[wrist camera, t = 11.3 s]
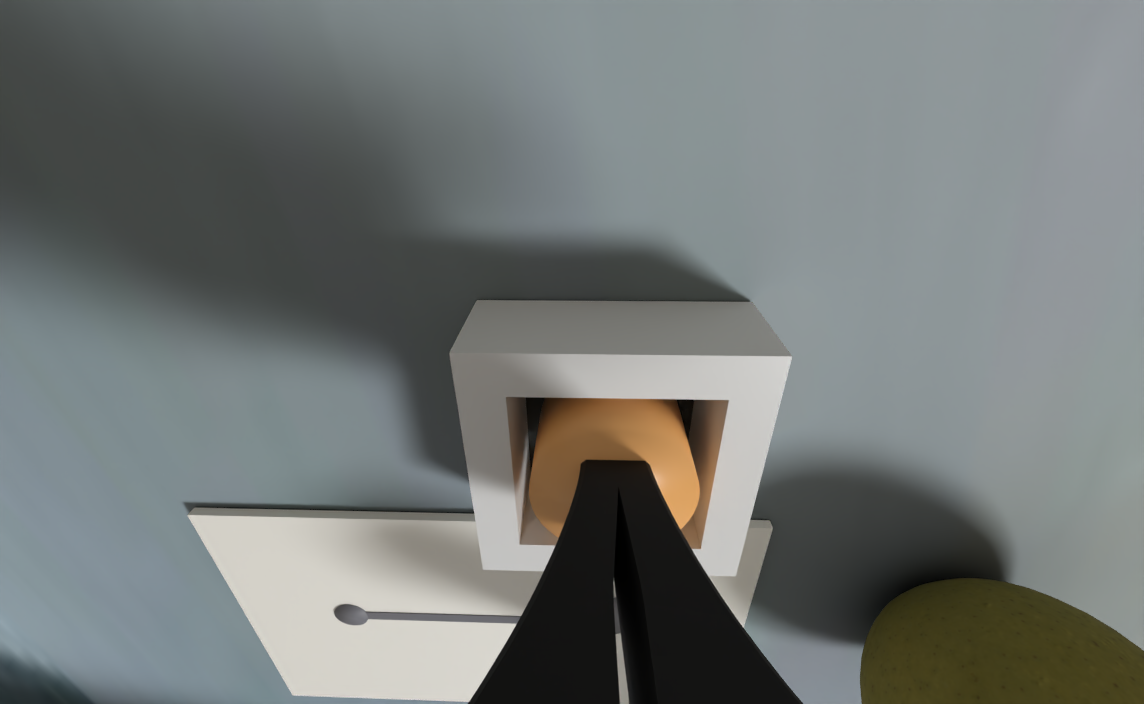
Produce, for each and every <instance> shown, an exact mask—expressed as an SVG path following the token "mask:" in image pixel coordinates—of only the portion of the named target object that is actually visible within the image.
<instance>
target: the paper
mask: <svg viewBox="0 0 1144 704" xmlns="http://www.w3.org/2000/svg"><path fill="white" fill-rule="evenodd" d="M188 517H189V519H190V520H191V522H192V524H193V526H194V527H195V529H196V531H197V532H198V534H199V536H200V537H201V539H202V541H203V543H204V544H205V546H206V548H207V549H208V551H209V553H210V555H211V556H212V558H213V560H214V561H215V563H216V565H217V567H218V568H219V570H220V572H221V573H222V575H223V577H224V579H225V580H226V582H227V584H228V585H229V587H230V589H231V591H232V592H233V594H234V596H235V597H236V599H237V601H238V603H239V604H240V606H241V608H242V609H243V611H244V613H245V614H246V616H247V618H248V620H249V621H250V623H251V625H252V626H253V628H254V630H255V632H256V633H257V635H258V637H259V638H260V640H261V642H262V644H263V645H264V647H265V649H266V650H267V652H268V654H269V656H270V657H271V659H272V661H273V662H274V664H275V666H276V668H277V669H278V671H279V673H280V674H281V676H282V678H283V680H284V681H285V683H286V685H287V686H288V688H289V690H290V691H291V693H292V695H295V696H322V697H350V698H378V699H406V700H434V701H462V702H469V701H470V700H471V698H472V697H473V695H474V694H475V692H476V690H477V689H478V687H479V686H480V684H481V683H482V681H483V680H484V678H485V676H486V675H487V673H488V671H489V670H490V668H491V667H492V665H493V663H494V662H495V660H496V658H497V657H498V655H499V653H500V652H501V650H502V648H503V647H504V645H505V644H506V642H507V640H508V638H509V637H510V635H511V633H512V631H513V630H514V628H515V626H516V624H517V622H518V621H519V619H520V617H521V615H522V613H523V612H524V610H525V608H526V606H527V604H528V602H529V600H530V598H531V596H532V594H533V593H534V591H535V589H536V587H537V585H538V582H539V580H540V578H541V576H542V574H543V572H544V571H510V570H483V566H482V560H481V553H480V547H479V540H478V534H477V528H476V521H475V515H474V514H462V513H418V512H373V511H328V510H283V509H238V508H193V510H192V511H191V512H190V513H189V514H188ZM772 530H773V527H772V525H771V522H770V520H750V523H749V527H748V531H747V535H746V539H745V543H744V547H743V550H742V554H741V558H740V562H739V566H738V570H737V574H736V576H708V577H709V578H710V580H711V581H712V583H713V584H714V586H715V587H716V589H717V590H718V592H719V593H720V595H721V596H722V598H723V599H724V601H725V602H726V604H727V605H728V607H729V608H730V610H731V611H732V613H733V614H734V615H735V617H736V618H737V620H738V621H739V622H740V624H741V625H742V627H743V628H744V625H745V622H746V618H747V615H748V611H749V608H750V605H751V601H752V598H753V594H754V591H755V588H756V584H757V581H758V577H759V574H760V571H761V567H762V564H763V560H764V557H765V554H766V550H767V547H768V543H769V540H770V537H771V533H772ZM614 598H616V592H615V584H614Z"/></svg>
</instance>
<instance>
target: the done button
mask: <svg viewBox="0 0 1144 704" xmlns="http://www.w3.org/2000/svg"><path fill="white" fill-rule="evenodd" d="M585 460H642V461H646V462H647V463H648V464H649V465H650V466H651V469H652V472H653V474H654V477H655V479H656V482H657V484H658V486H659V488H660V491H661V493H662V495H663V497H664V499H665V501H666V503H667V505H668V507H669V509H670V511H671V513H672V515H673V517H674V519H675V520H676V522H677V524H678V526H679V528H680V530H681V529H682V528H683V527H684V526H685V525H686V523H687V522H688V521H689V520H690V518H691V517H692V515H693V514H694V512H695V510H696V507H697V505H698V501H699V495H700V486H699V480H698V476H697V473H696V469H695V465H694V461H693V458H692V454H691V450H690V447H689V443H688V439H687V435H686V432H685V428H684V424H683V421H682V417H681V413H680V409H679V406H678V403H677V400H676V399H618V398H545V399H544V402H543V405H542V407H541V412H540V418H539V425H538V431H537V438H536V445H535V451H534V458H533V464H532V471H531V477H530V484H529V498H530V503H531V506H532V509H533V511H534V513H535V515H536V517H537V518H538V520H539V521H540V522H541V524H542V525H543V526H544V527H545V528H546V529H547V530H548V531H550V532H551V533H552V534H554V535H555V536H556V537H558V538H559V536H560V533H561V531H562V528H563V525H564V523H565V520H566V518H567V515H568V512H569V510H570V506H571V503H572V500H573V497H574V494H575V490H576V487H577V483H578V478H579V474H580V466H581V463H582V462H584V461H585Z"/></svg>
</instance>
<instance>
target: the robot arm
mask: <svg viewBox="0 0 1144 704" xmlns="http://www.w3.org/2000/svg"><path fill="white" fill-rule="evenodd" d="M614 584H615V592H616V600H617V608H618V617H619V625H620V633H621V641H622V649H623V657H624V665H625V673H626V681H627V689H628V698H629V704H803V703H802V702H801V701H800V699H799V698H798V697H797V696H796V695H795V694H794V692H793V691H792V690H791V689H790V688H789V686H788V685H787V684H786V683H785V681H784V680H783V679H782V678H781V676H780V675H779V674H778V673H777V671H776V670H775V669H774V667H773V666H772V665H771V664H770V662H769V661H768V660H767V658H766V657H765V656H764V655H763V653H762V652H761V651H760V650H759V648H758V647H757V645H756V644H755V643H754V641H753V640H752V639H751V637H750V636H749V635H748V633H747V632H746V631H745V629H744V628H743V627H742V625H741V624H740V622H739V621H738V620H737V618H736V617H735V615H734V614H733V613H732V611H731V610H730V608H729V607H728V605H727V604H726V602H725V601H724V599H723V598H722V596H721V595H720V593H719V592H718V590H717V589H716V587H715V586H714V584H713V583H712V581H711V580H710V578H709V577H708V575H707V573H706V572H705V570H704V569H703V567H702V565H701V564H700V562H699V561H698V559H697V557H696V556H695V554H694V552H693V550H692V549H691V547H690V545H689V544H688V542H687V540H686V538H685V537H684V535H683V533H682V531H681V530H680V528H679V526H678V524H677V522H676V520H675V519H674V517H673V515H672V513H671V511H670V509H669V507H668V505H667V503H666V501H665V499H664V497H663V495H662V493H661V491H660V488H659V486H658V484H657V482H656V479H655V477H654V474H653V472H652V469H651V466H650V465H649V464H648V463H647V462H646V461H642V460H585V461H584V462H582V463H581V466H580V474H579V478H578V483H577V487H576V490H575V494H574V497H573V500H572V503H571V506H570V510H569V512H568V515H567V518H566V520H565V523H564V525H563V528H562V531H561V533H560V536H559V538H558V541H557V543H556V546H555V548H554V550H553V552H552V555H551V557H550V559H549V561H548V563H547V565H546V567H545V570H544V572H543V574H542V576H541V578H540V580H539V582H538V585H537V587H536V589H535V591H534V593H533V594H532V596H531V598H530V600H529V602H528V604H527V606H526V608H525V610H524V612H523V613H522V615H521V617H520V619H519V621H518V622H517V624H516V626H515V628H514V630H513V631H512V633H511V635H510V637H509V638H508V640H507V642H506V644H505V645H504V647H503V648H502V650H501V652H500V653H499V655H498V657H497V658H496V660H495V662H494V663H493V665H492V667H491V668H490V670H489V671H488V673H487V675H486V676H485V678H484V680H483V681H482V683H481V684H480V686H479V687H478V689H477V690H476V692H475V694H474V695H473V697H472V698H471V700H470V701H469V703H468V704H620V696H619V681H618V665H617V649H616V632H615V615H614Z"/></svg>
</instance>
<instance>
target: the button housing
mask: <svg viewBox="0 0 1144 704" xmlns="http://www.w3.org/2000/svg"><path fill="white" fill-rule="evenodd" d="M449 355H450V361H451V368H452V374H453V381H454V387H455V393H456V400H457V406H458V413H459V419H460V425H461V432H462V438H463V445H464V451H465V457H466V464H467V470H468V476H469V483H470V489H471V496H472V502H473V508H474V515H475V521H476V528H477V534H478V540H479V547H480V553H481V560H482V566H483V570H510V571H544V570H545V567H546V565H547V563H548V561H549V559H550V557H551V555H552V552H553V550H554V548H555V546H556V543H557V541H558V537H556V536H555V535H554V534H552V533H551V532H550V531H548V530H547V529H546V528H545V527H544V526H543V525H542V524H541V522H540V521H539V520H538V518H537V517H536V515H535V513H534V511H533V509H532V506H531V503H530V498H529V484H530V477H531V467H530V453H529V438H528V424H527V409H526V397H545V398H618V399H690V400H694V405H693V412H692V419H691V425H690V432H689V439H688V443H689V447H690V450H691V454H692V458H693V461H694V465H695V469H696V473H697V476H698V480H699V486H700V495H699V501H698V505H697V507H696V510H695V512H694V514H693V515H692V517H691V518H690V520H689V521H688V522H687V523H686V525H685V526H684V527H683V528H682V529H681V531H682V533H683V535H684V537H685V538H686V540H687V542H688V544H689V545H690V547H691V549H692V550H693V552H694V554H695V556H696V557H697V559H698V561H699V562H700V564H701V565H702V567H703V569H704V570H705V572H706V573H707V575H708V576H736V574H737V570H738V566H739V562H740V558H741V554H742V550H743V547H744V543H745V539H746V535H747V531H748V527H749V523H750V519H751V515H752V511H753V508H754V504H755V500H756V496H757V492H758V488H759V484H760V480H761V476H762V472H763V469H764V465H765V461H766V457H767V453H768V449H769V445H770V441H771V437H772V433H773V430H774V426H775V422H776V418H777V414H778V410H779V406H780V402H781V398H782V394H783V391H784V387H785V383H786V379H787V375H788V371H789V367H790V363H791V359H792V355H791V354H790V353H789V351H788V350H787V349H786V347H785V346H784V345H783V343H782V342H781V340H780V339H779V338H778V336H777V335H776V334H775V332H774V331H773V329H772V328H771V327H770V325H769V324H768V323H767V321H766V320H765V319H764V317H763V316H762V314H761V313H760V312H759V310H758V309H757V308H756V306H755V305H754V303H753V302H693V301H545V300H476V302H475V304H474V306H473V308H472V310H471V312H470V314H469V316H468V318H467V320H466V322H465V323H464V325H463V327H462V329H461V331H460V333H459V335H458V337H457V339H456V341H455V343H454V345H453V346H452V348H451V350H450V352H449Z"/></svg>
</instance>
